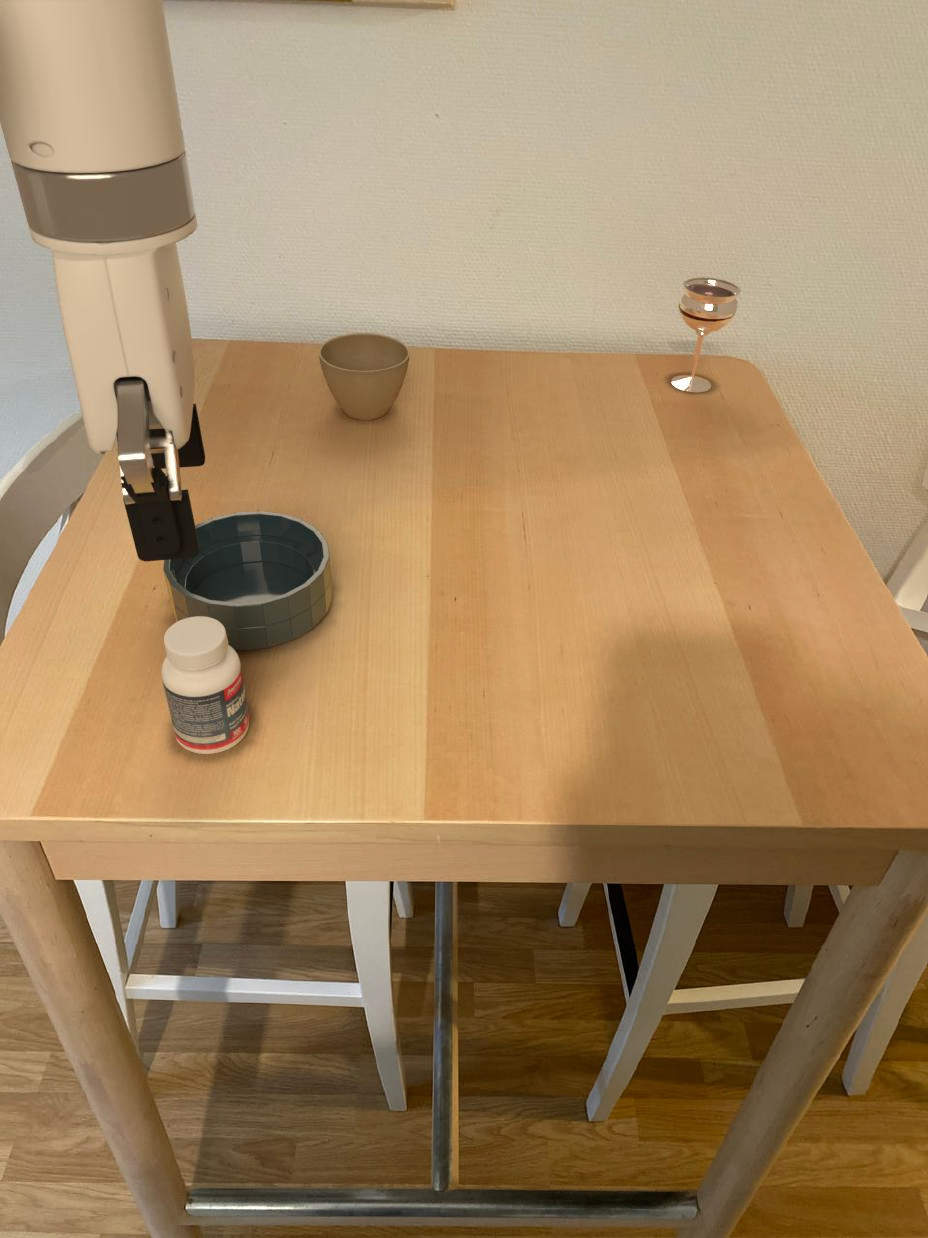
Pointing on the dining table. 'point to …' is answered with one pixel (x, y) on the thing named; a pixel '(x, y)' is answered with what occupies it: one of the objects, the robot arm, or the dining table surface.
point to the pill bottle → (204, 686)
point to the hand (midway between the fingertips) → (175, 507)
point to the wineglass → (705, 319)
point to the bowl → (254, 578)
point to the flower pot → (364, 372)
